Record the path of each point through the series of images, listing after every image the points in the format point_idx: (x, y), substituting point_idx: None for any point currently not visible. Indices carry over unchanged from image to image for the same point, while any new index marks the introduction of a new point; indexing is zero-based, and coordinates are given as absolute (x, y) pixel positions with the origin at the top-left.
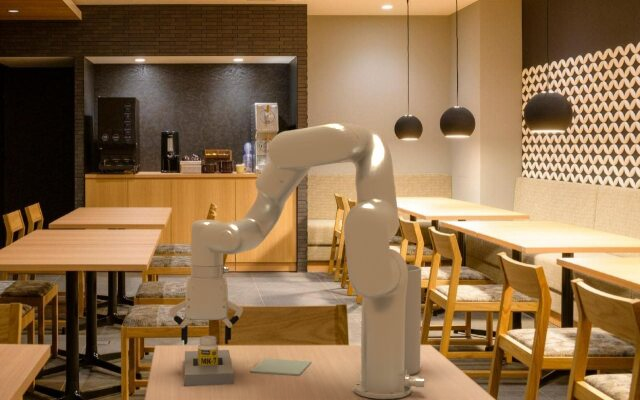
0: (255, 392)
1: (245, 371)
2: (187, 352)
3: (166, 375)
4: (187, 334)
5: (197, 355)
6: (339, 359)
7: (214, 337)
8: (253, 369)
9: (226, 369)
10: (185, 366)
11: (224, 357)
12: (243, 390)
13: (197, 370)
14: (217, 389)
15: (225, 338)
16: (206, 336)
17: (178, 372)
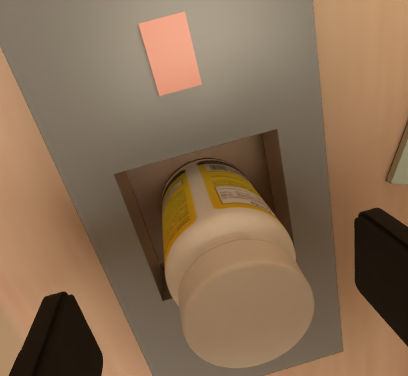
0: (384, 370)
1: (365, 165)
2: (7, 14)
3: (39, 273)
4: (69, 371)
5: (115, 98)
6: None
7: (301, 310)
8: (404, 161)
9: (314, 318)
10: (128, 314)
11: (290, 126)
12: (352, 363)
13: None
14: (277, 371)
15: (382, 314)
16: (231, 294)
17: (72, 224)
